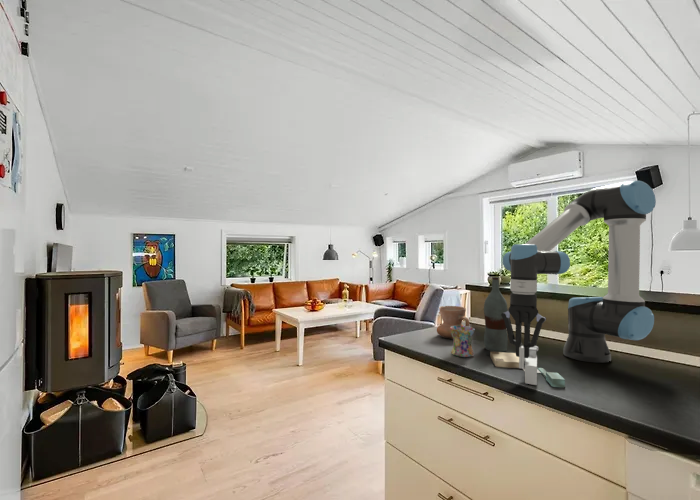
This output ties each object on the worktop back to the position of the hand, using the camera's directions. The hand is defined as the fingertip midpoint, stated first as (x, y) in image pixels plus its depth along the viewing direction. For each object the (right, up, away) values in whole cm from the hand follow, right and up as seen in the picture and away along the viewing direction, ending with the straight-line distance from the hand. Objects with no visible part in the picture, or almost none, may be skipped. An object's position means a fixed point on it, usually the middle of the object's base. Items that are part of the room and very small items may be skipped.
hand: (522, 367), depth 111 cm
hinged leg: (+4, -3, +2) cm, 6 cm away
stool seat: (+4, -4, +9) cm, 11 cm away
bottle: (+6, -4, +35) cm, 36 cm away
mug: (-11, -4, +28) cm, 30 cm away
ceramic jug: (-6, -5, +55) cm, 56 cm away
